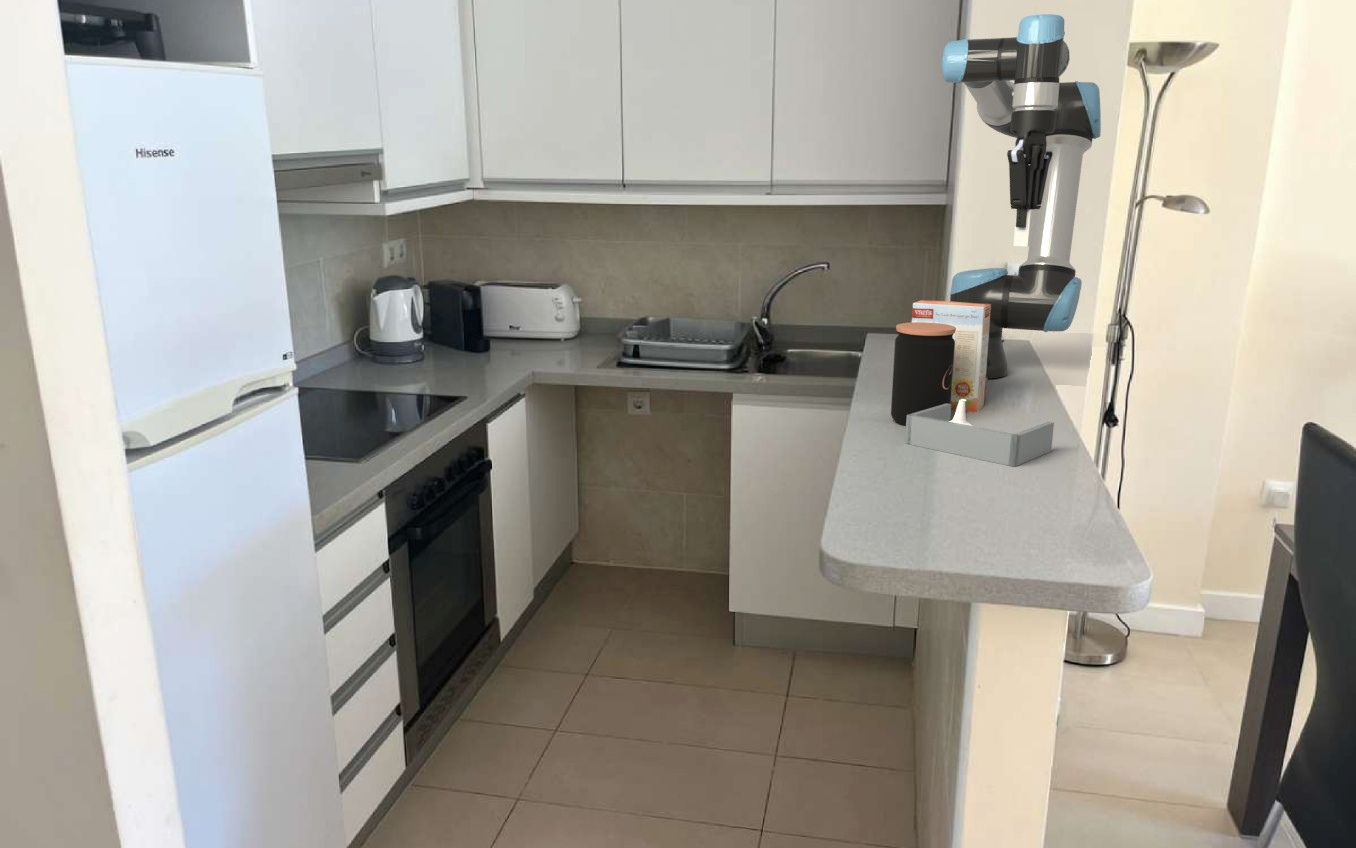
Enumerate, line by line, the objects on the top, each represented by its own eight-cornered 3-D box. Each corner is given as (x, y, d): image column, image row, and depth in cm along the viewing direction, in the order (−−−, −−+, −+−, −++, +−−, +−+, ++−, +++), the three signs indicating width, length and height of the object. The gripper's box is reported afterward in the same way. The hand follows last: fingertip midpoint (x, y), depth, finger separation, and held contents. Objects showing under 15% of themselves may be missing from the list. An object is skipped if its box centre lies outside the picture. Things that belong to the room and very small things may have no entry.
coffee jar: (950, 430, 181) (958, 331, 176) (890, 427, 183) (896, 329, 178) (947, 417, 191) (954, 323, 186) (890, 414, 193) (895, 321, 188)
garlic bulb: (959, 438, 176) (962, 393, 174) (984, 446, 170) (988, 400, 168) (930, 442, 173) (933, 397, 171) (955, 450, 168) (959, 404, 166)
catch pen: (944, 430, 181) (946, 403, 179) (1051, 451, 167) (1054, 422, 166) (905, 443, 172) (906, 415, 170) (1014, 466, 158) (1017, 436, 157)
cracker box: (984, 408, 198) (992, 303, 193) (976, 414, 193) (985, 306, 188) (914, 400, 205) (921, 298, 200) (905, 406, 200) (912, 301, 195)
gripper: (1030, 112, 182) (1019, 243, 188) (996, 108, 173) (985, 246, 179) (1071, 110, 177) (1058, 245, 183) (1037, 106, 168) (1025, 248, 174)
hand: (1022, 245), depth 181 cm, fingers closed
